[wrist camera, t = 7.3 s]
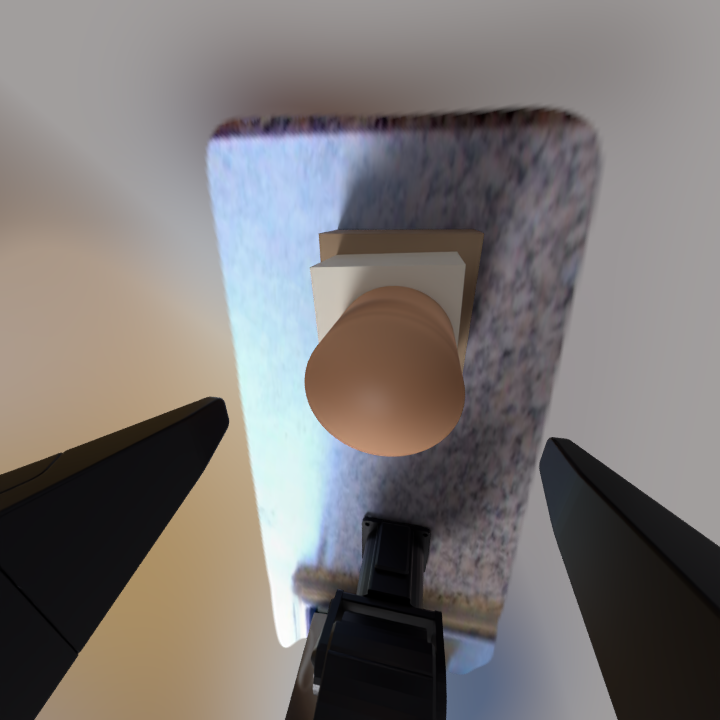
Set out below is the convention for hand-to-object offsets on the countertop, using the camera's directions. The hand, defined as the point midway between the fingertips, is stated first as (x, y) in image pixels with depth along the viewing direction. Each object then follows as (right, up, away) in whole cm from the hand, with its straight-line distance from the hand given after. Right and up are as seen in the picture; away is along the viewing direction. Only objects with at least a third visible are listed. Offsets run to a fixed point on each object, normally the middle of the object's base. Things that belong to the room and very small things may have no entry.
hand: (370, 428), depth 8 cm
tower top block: (+2, +5, +8) cm, 9 cm away
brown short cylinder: (+1, +3, +5) cm, 5 cm away
